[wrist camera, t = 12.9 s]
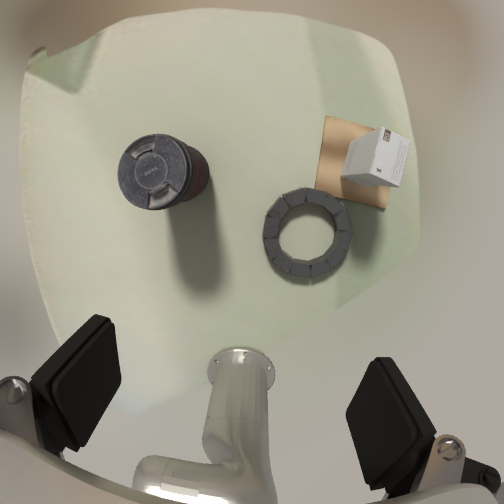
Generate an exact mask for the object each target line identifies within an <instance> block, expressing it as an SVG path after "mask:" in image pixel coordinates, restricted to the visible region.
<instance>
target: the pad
mask: <svg viewBox="0 0 504 504" xmlns="http://www.w3.org/2000/svg"><path fill="white" fill-rule="evenodd" d="M374 130H376V129H373V128H370V127H367V126H363V125H360V124H356V123H353V122H349V121H346V120H342V119H338V118H334V117H330V116H325V123H324V130H323V137H322V144H321V151H320V157H319V164H318V170H317V176H316V182H315V188H314V189H316V190H321V191H325V192H327V193H330V194H331V195H332V196H333V197H338V198H342V199H347V200H351V201H356V202H360V203H365V204H369V205H373V206H377V207H381V208H385V209H386V204H387V199H388V193H389V188H390V187H386V186H362V185H360V184H357V183H355V182H352V181H350V180H347V179H345V178H342V177H341V176H340V175H341V172H342V169H343V165H344V162H345V159H346V155H347V152H348V149H349V145H350V142H351V141H353V140H355V139H357V138H359V137H361V136H363V135H365V134H367V133H369V132H372V131H374Z"/></svg>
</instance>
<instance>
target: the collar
mask: <svg viewBox="0 0 504 504" xmlns="http://www.w3.org/2000/svg"><path fill="white" fill-rule="evenodd" d="M282 195H283V197H284V199H283V198H281V197H279V198H278V199H277V200H276V201H275V203H274V204H273V205H272V206H271V208H270V209H269V210H268V211H267V214H269V215H266V216H265V222H264V228H263V234H262V236H263V242H264V244H265V247H266V249H267V252H268V255H269V257H270V259H272V262H273V263H275V264H276V265H277V266H278V267H280V268H281V269H282V270H283V271H285V272H286V273H287V274H288V272H289V273H290V275H295V276H301V277H308V278H310V273H311V275H312V277H315V276H317V275H320V274H323V273H325V272H328V271H331V269H330V266H331V267H332V268H333V269H334V267H335V266H336V265H337V264H338V263H339V262H340V261H341V259H342V258H343V257H344V256H345V255H346V253H345V252H344V251H348V248H349V244H350V239H351V235H352V231H350V229H352V227H351V223H350V220H349V217H348V213H347V210H346V209H343V208H344V206H343V205H342V204H341V203H340V202H339V201H338V200H337V199H336V198H334V197H333V196H332V195H331V194H330V193H327V192H325V191H321V190H316V189H311V188H305V187H304V188H299V189H296V190H293V191H290V192H288V193H285V194H282ZM305 202H309V203H314V204H320V205H322V206H323V207H324V208H325V209H326V210H327V211H328V212H329V213H330V214H331V215H332V218H333V221H334V225H335V228H336V230H335V235H334V240H333V244H332V245H331V246H330V248H329V249H328V250H327V251H326V252H325V253H324V254H323V256H320V257H317V258H315V259H312V260H309V261H305V260H299V259H293V258H292V257H291V256H289V255H288V254H287V253H286V252H284V251H283V250H282V249H281V247H280V244H279V241H278V239H277V233H278V227H279V222H280V220H281V219H282V217H283V216H284V215H285V214H286V213H287V211H288V210H289V209H290V208H291V207H294V206H297V205H299V204H302V203H305ZM343 250H344V251H343ZM329 265H330V266H329Z"/></svg>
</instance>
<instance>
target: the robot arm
mask: <svg viewBox="0 0 504 504" xmlns="http://www.w3.org/2000/svg"><path fill="white" fill-rule="evenodd" d="M207 374H208V379H209V381H210V383H211V384H212V385H213V388H212V393H211V397H210V402H209V406H208V412H207V416H206V421H205V426H204V431H203V436H202V444H203V448H204V451H205V453H206V455H207V457H208V458H209V459H210V461H211V462H212V464H203V463H197V462H191V461H185V460H180V459H174V458H169V457H164V456H157V455H152V456H147V457H145V458H143V459H142V460H141V461H140V462H139V463H138V465H137V467H136V470H135V473H134V477H133V485H132V488H129V487H126V486H123V485H120V484H118V483H115V482H112V481H109V480H107V479H105V478H102V477H100V476H97V475H95V474H93V473H90V472H88V471H86V470H83V469H81V468H79V467H77V466H75V465H73V464H71V463H69V462H67V461H65V459H64V455H63V450H64V448H65V447H67V448H69V449H71V450H73V451H75V452H78V450H79V448H80V447H84V446H85V445H86V444H87V442H88V440H89V438H90V436H91V434H92V433H93V431H94V429H95V428H96V426H97V424H98V422H99V421H100V419H101V417H102V415H103V413H104V412H105V410H106V408H107V407H108V405H109V403H110V402H111V400H112V398H113V397H114V395H115V393H116V392H117V390H118V388H119V386H120V384H121V372H120V365H119V358H118V351H117V343H116V334H115V325H114V323H111V320H110V318H108V317H104V316H101V315H97V314H95V315H93V316H92V317H91V318H90V319H89V320H88V321H87V322H86V323H85V324H84V325H83V326H82V327H80V328H79V329H78V330H77V331H76V332H75V333H74V334H73V335H72V336H71V337H70V338H69V339H68V340H67V341H66V342H65V343H64V344H63V345H62V346H61V347H60V348H59V349H58V350H57V351H56V352H55V353H54V354H53V355H52V356H51V357H50V358H49V359H48V360H47V361H46V362H45V363H44V364H43V365H42V366H41V367H40V368H39V369H38V370H37V371H36V372H35V374H34V375H33V376H32V377H31V379H32V380H31V381H30V382H29V383H28V382H27V381H26V380H25V379H23V378H21V377H19V376H9V377H5V378H3V379H2V380H0V504H277V494H276V490H275V485H274V481H273V477H272V473H271V467H270V460H269V444H268V443H269V442H268V404H267V403H268V402H267V401H268V400H267V390H269V389H270V387H271V386H272V385H273V383H274V380H275V369H274V366H273V364H272V362H271V361H270V359H269V358H268V357H267V356H265V355H264V354H263V353H261V352H259V351H257V350H254V349H251V348H245V347H235V348H229V349H225V350H223V351H221V352H219V353H218V354H216V355H215V356H214V357H213V358H212V359H211V361H210V363H209V366H208V372H207ZM346 419H347V422H348V426H349V429H350V432H351V436H352V439H353V441H354V446H355V449H356V452H357V456H358V459H359V462H360V466H361V469H362V473H363V477H364V480H365V483H366V484H369V486H370V490H371V491H372V490H377V489H382V488H384V487H385V490H386V493H385V495H384V497H383V498H382V500H381V501H378V502H373V503H368V504H504V482H502V483H501V478H500V475H499V473H498V471H497V470H496V469H495V468H493V467H491V466H488V465H485V464H482V463H480V462H477V461H475V460H472V459H469V458H467V457H465V455H466V451H465V447H464V444H463V443H462V442H461V441H460V440H459V439H458V438H457V437H454V436H453V435H448V434H447V435H441V436H439V437H438V438H436V439H435V437H434V434H436V432H437V431H436V429H435V428H434V426H433V424H432V422H431V421H430V419H429V417H428V415H427V414H426V412H425V410H424V409H423V407H422V405H421V404H420V402H419V400H418V399H417V397H416V396H415V394H414V392H413V391H412V389H411V387H410V386H409V384H408V383H407V381H406V380H405V378H404V376H403V375H402V373H401V372H400V370H399V368H398V367H397V366H396V364H395V362H394V361H393V359H392V358H390V357H377V358H375V359H374V361H371V362H370V364H369V366H368V368H367V370H366V372H365V375H364V377H363V379H362V381H361V383H360V385H359V387H358V389H357V391H356V393H355V395H354V397H353V399H352V401H351V403H350V404H349V406H348V408H347V410H346Z"/></svg>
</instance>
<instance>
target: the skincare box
mask: <svg viewBox="0 0 504 504" xmlns="http://www.w3.org/2000/svg"><path fill="white" fill-rule="evenodd" d="M409 145H410V140H408V139H406V138H404V137H402V136H400V135H398V134H396V133H394V132H392V131H390V130H388V129H386V128H384V127H380V128H378V129H376V130H374V131H372V132H369V133H367V134H365V135H363V136H361V137H359V138H357V139H355V140H353V141H351V142H350V145H349V149H348V152H347V155H346V159H345V162H344V165H343V169H342V172H341V175H340V176H341V177H342V178H345V179H347V180H350V181H352V182H355V183H357V184H360V185H362V186H386V187H399V186H400V182H401V178H402V174H403V171H404V166H405V162H406V158H407V154H408V149H409Z"/></svg>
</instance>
